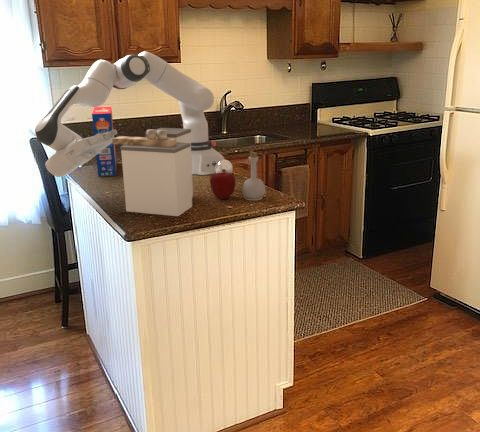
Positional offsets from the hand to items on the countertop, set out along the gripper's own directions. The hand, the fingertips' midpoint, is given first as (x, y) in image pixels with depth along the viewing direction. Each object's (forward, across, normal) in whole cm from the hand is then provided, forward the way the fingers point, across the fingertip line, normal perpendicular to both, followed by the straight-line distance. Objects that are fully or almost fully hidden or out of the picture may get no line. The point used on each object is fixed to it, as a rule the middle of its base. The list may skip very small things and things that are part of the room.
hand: (108, 133), depth 184 cm
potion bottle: (+27, +23, +46) cm, 58 cm away
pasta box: (-44, +51, +5) cm, 68 cm away
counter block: (+3, +6, +32) cm, 33 cm away
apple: (+17, +20, +40) cm, 48 cm away
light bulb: (+14, +33, +38) cm, 52 cm away
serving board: (+11, 0, +10) cm, 15 cm away
